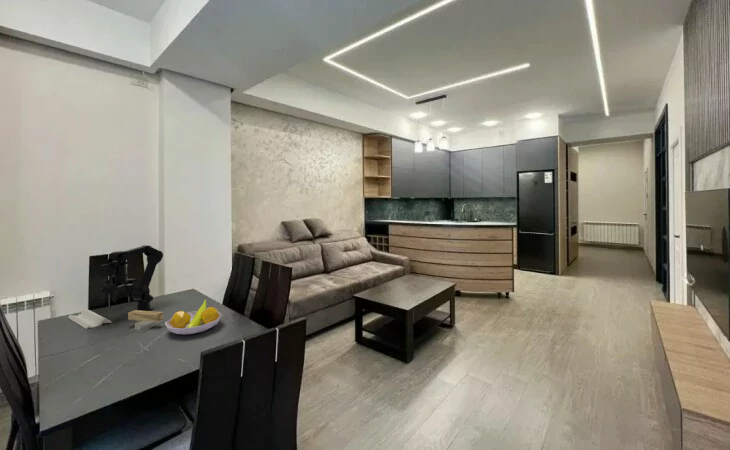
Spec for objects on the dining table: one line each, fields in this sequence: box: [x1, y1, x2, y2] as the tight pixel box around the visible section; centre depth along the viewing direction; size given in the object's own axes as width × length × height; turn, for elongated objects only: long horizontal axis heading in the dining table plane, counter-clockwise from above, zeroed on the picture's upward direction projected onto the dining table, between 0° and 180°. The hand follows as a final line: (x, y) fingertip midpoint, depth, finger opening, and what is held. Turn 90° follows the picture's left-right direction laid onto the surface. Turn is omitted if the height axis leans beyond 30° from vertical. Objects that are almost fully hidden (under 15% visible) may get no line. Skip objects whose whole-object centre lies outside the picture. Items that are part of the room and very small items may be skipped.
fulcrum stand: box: [128, 320, 164, 333], centre depth 168 cm, size 14×8×4 cm, turn 175°
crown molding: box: [67, 308, 113, 330], centre depth 179 cm, size 31×12×4 cm, turn 57°
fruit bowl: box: [164, 299, 223, 336], centre depth 166 cm, size 28×27×11 cm
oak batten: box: [127, 309, 164, 322], centre depth 168 cm, size 4×18×4 cm, turn 81°
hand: (121, 299), depth 178 cm, fingers open, 9 cm apart
